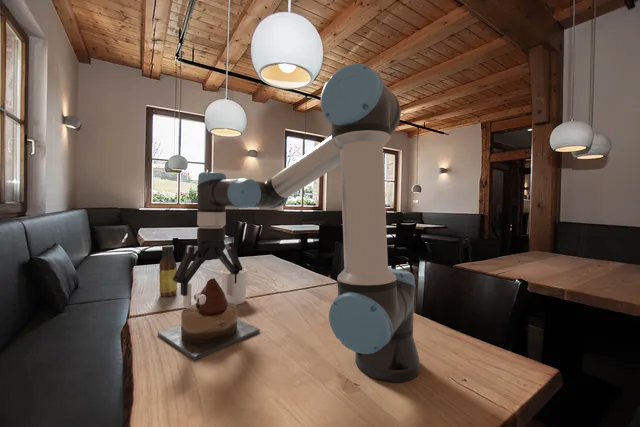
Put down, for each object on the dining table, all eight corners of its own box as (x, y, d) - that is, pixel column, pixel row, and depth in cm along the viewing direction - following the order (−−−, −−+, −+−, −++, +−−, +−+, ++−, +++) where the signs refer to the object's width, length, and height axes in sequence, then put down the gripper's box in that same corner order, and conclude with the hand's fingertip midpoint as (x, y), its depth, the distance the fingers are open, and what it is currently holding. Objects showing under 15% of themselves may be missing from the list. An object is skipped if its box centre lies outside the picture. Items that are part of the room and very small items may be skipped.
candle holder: (239, 307, 104) (240, 274, 103) (215, 304, 106) (215, 272, 105) (251, 298, 113) (252, 268, 113) (229, 296, 115) (229, 266, 115)
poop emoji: (232, 311, 81) (233, 279, 80) (201, 318, 75) (201, 284, 75) (219, 302, 88) (220, 272, 88) (190, 307, 83) (191, 276, 83)
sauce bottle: (180, 294, 116) (180, 246, 115) (164, 298, 111) (165, 247, 110) (171, 291, 119) (171, 244, 119) (155, 295, 114) (156, 246, 114)
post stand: (259, 332, 84) (260, 308, 83) (194, 360, 68) (195, 331, 68) (220, 314, 96) (221, 294, 96) (157, 335, 80) (158, 310, 80)
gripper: (239, 224, 93) (238, 288, 94) (159, 228, 73) (158, 309, 74) (254, 225, 88) (253, 293, 89) (173, 230, 69) (172, 316, 69)
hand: (210, 300), depth 82 cm, fingers open, 13 cm apart
